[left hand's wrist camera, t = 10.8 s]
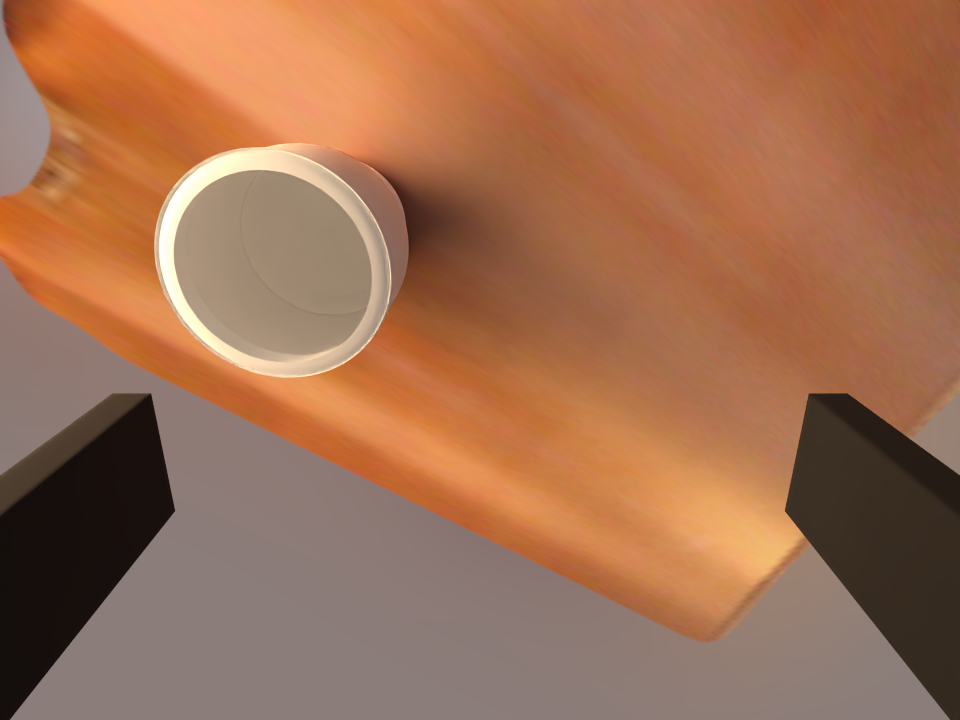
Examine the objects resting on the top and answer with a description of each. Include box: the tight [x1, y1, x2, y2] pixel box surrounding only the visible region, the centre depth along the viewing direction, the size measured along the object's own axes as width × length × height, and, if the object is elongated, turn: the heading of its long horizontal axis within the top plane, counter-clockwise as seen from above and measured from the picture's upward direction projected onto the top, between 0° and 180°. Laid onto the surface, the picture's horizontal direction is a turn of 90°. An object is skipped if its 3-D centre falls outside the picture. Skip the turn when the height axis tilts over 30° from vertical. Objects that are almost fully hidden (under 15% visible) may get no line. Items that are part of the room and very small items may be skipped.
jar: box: [154, 143, 409, 377], centre depth 34 cm, size 11×10×15 cm
